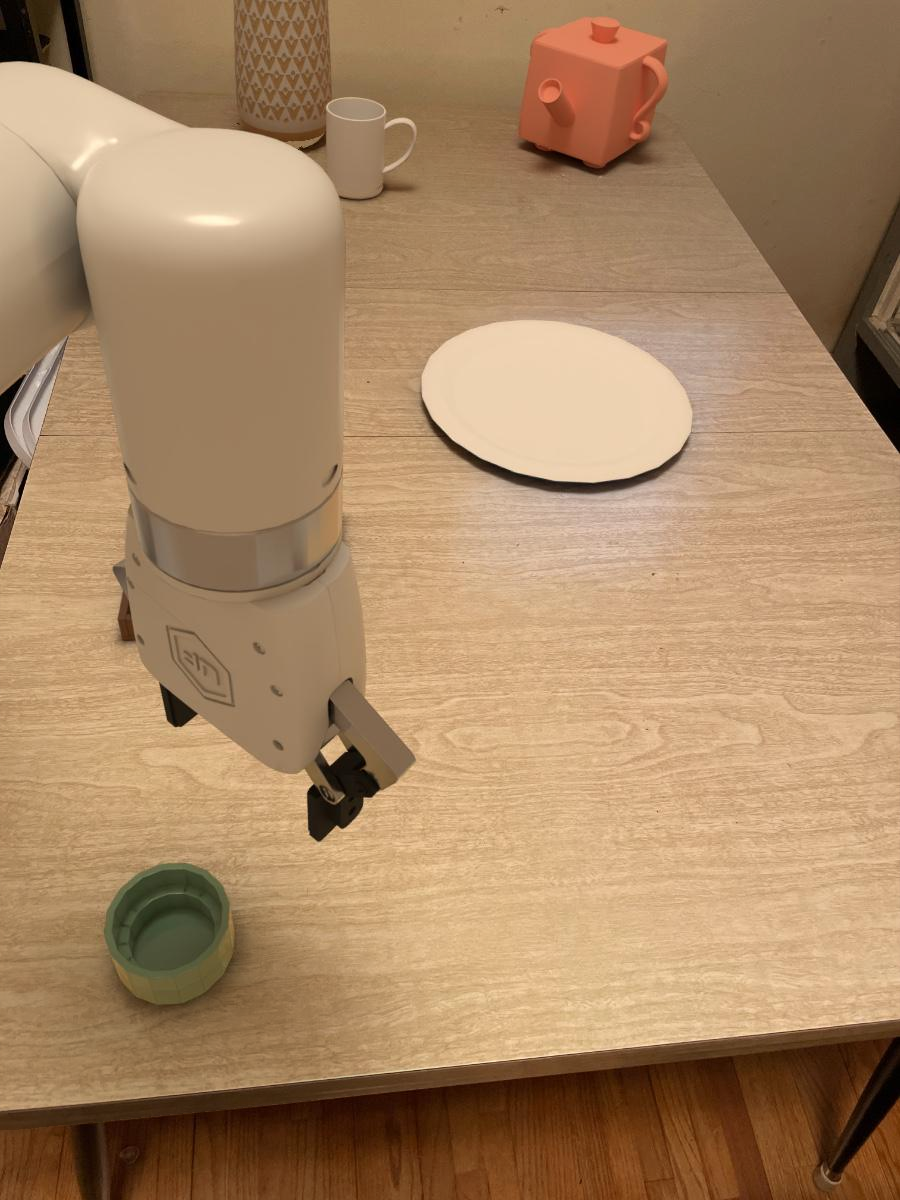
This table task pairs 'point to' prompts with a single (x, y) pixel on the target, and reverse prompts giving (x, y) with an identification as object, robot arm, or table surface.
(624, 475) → the plate
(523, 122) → the teapot
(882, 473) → the table surface
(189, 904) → the bowl
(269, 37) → the vase
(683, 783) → the table surface
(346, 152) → the mug
